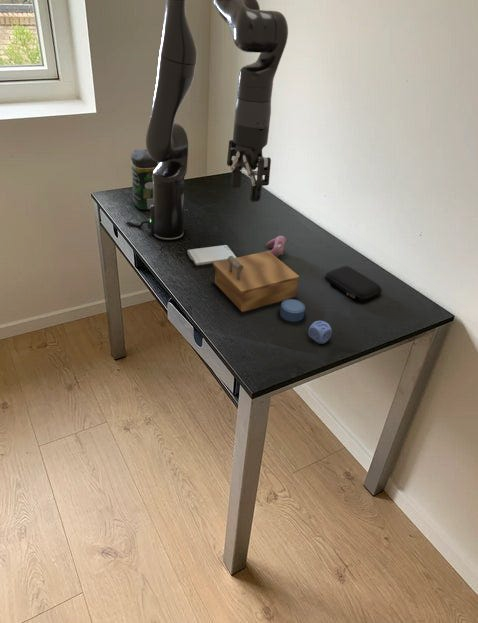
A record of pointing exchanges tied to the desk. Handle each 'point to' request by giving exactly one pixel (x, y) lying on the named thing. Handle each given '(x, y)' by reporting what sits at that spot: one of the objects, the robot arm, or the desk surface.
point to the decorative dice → (320, 331)
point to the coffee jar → (142, 178)
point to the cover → (255, 271)
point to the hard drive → (210, 254)
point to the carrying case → (353, 283)
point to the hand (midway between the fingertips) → (245, 193)
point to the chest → (256, 293)
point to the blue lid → (292, 310)
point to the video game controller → (277, 245)
